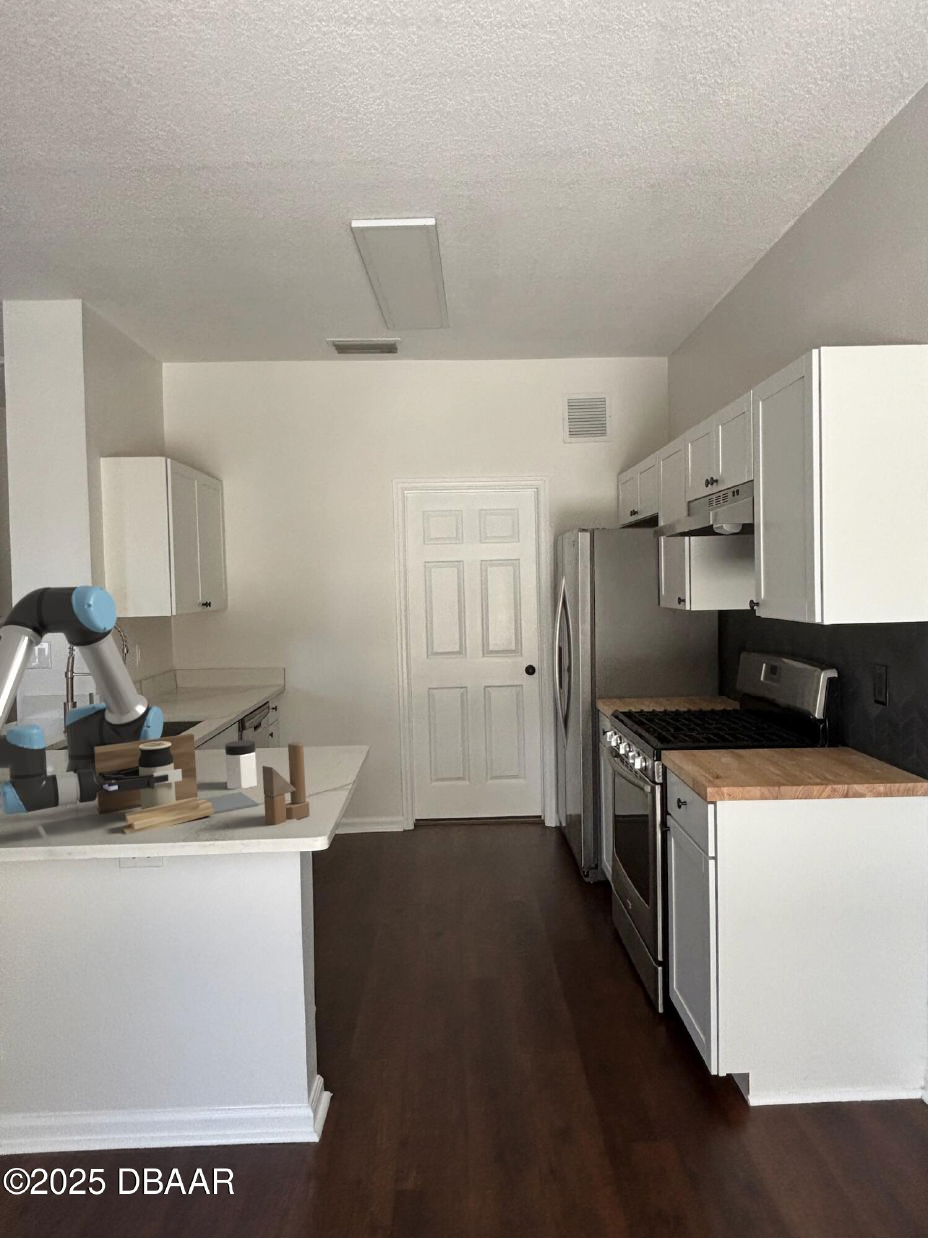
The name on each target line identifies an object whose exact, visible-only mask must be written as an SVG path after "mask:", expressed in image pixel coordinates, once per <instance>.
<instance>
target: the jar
mask: <svg viewBox="0 0 928 1238" xmlns="http://www.w3.org/2000/svg"><path fill="white" fill-rule="evenodd" d="M224 750H225V768H226V785H227V789H229V790H238V789H244V788H245V789H250V787H251V788H254V787H257V786H258V785H257V784H258V774H257V754H256V751H257V748H256V741H254V740H250V739H249V740H246V739H245V740H244V739H243V740H234V741H229V742H227V743H225V744H224Z"/></svg>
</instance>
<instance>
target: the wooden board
mask: <svg viewBox="0 0 928 1238" xmlns="http://www.w3.org/2000/svg"><path fill="white" fill-rule="evenodd" d="M160 741H165V742H170V743H171V745H170V752H171V754H172V755H173V765H174V770H177V769H181V772H182V781H176V782H175V799H176V802H177V801H181V800H186V799H190V798H194V797H195V798H198V784H197V768H196V767H197V766H196V765H197V763H196V748H195V734H194V733H187V734H186V733H185V734H180V735H173V736H172V735H171V736H163V737H160V738H156V739H149V740H142V741H134V742H127V743H120V744H112V745H105V746H98V747H94V752H95V767H96V777H97V776H98V773H100V772H109V771H114V770H119V769H125V768H130V767H135V766H139V762H138V759H139V757H140V755H141V751H140V749H139V746H140V745H142V744H145V743H150V742H160ZM96 799H97V807H96V813H97V812H98V813H99V814H98V815H103V814H110V813H115V812H120V811H121V812H122V811H126V810H133V809H137V808H141V795H140V789H138V790H130V791H123V792H117V793H112V794H108V792H107V793H106V792H105V791H99V792H97V798H96Z"/></svg>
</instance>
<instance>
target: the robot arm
mask: <svg viewBox="0 0 928 1238" xmlns="http://www.w3.org/2000/svg"><path fill="white" fill-rule="evenodd" d="M116 610H117V606H116V603H115V600H114V599H113V597H112V595H111V593H110V592H109V591H107V590H106V589H105V588H103V587H101V586H96V585H87V584H85V585H79V586H60V587H59V586H57V587H56V586H54V587H52V586H51V587H50V586H49V587H48V586H47V587H46V586H45V587H40V588H36V589H34V590H32V591H30V592H28V593H27V594H25V595H24V596H23V597H22V598H20V599H19V600H18V601H17V603H15V604H14V606H12V608H11V609H10V611H8V614H7V615H6V617H4V620H3V621H2V624H1V627H0V636H1V638H0V769H8V772H9V779H7V781H3V782H1V784H0V802H1V809H2V812H3V813H4V814H6V815H15V814H22V813H24V814H27V813H31V812H36V811H42V810H48V809H53V808H58V807H62V808H63V809H66V808H67V806H70V805H76V804H77V803H78V802H79V803H80V804H83V803H89V802H94V801H96V800H97V799H98V798H97V792H99V791H105V792H106V793H107V792H108V794H112V793H117V792H123V791H130V790H138V789H146V788H151V789H154V788H155V786H154V785H158V784H164V783H170V782H176V781H182V772H181V769H177V770H171V771H165V772H158V773H153V775H143V776H139V766H135V767H130V768H125V769H119V770H114V771H109V772H100V773H98V776H97V777H96V767H95V752H94V747H98V746H105V745H112V744H120V743H127V742H134V741H142V740H149V739H156V738H162V737H161V736H162V733H163V729H164V728H163V727H164V715H163V711H162V709H161V708H160V707H158V706H156V705H153V706H150V704H149V702H148V700H147V698H146V697H145V696H143V695H141V694H138V691H137V690H136V687H135V685H134V683H133V681H132V678H131V676H130V674H129V672H128V670H127V667H126V665H125V663H124V660H123V658H122V656H121V653H120V652H119V649H118V647H117V644H116V643H115V641H114V638H113V635H112V633H113V631H114V627H115V625H116V622H117V616H118V613H117V612H116ZM48 634H63V635H64V637H65V638H66V641H67V643H68V644H69V645H70V646H72V647H75V648H78V651H79V654H80V655H81V657H82V659H83V661H84V663H85V665H86V667H87V670H88V671H89V674H90V675H91V678H92V679H93V682H94V684H95V685H96V687H97V688H96V689H97V690H98V692H99V693H100V694H99V695H100V696H101V698H102V700H103V702H97V703H91V704H86V705H82V706H78V707H74V708H71V709H69V710H68V711H67V712H66V714H65V728H66V729H65V730H66V743H67V755H68V757H67V758H68V761H67V767H66V769H65V772H60V773H53V774H49V775H48V772H47V771H48V769H47V768H48V767H47V766H48V765H47V752H46V746H47V742H46V739H45V732H44V728H43V727H42V725H39V724H22V725H15V726H12V727H9V728H8V729H7V730H6V731H7V732H6V734H2V733H3V731H4V727H5V725H6V722H7V720H8V717H9V715H10V712H11V709H12V706H13V704H14V702H15V698H16V696H17V693H18V691H19V688H20V685H21V683H22V680H23V678H24V675H25V672H26V670H27V667H28V665H29V662H30V659H31V657H32V655H33V653H34V649H35V648H36V647H38V646H40V645H41V643H42V641H43V638H44V637H45V635H48ZM147 780H148V783H147Z"/></svg>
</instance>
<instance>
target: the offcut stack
mask: <svg viewBox="0 0 928 1238" xmlns="http://www.w3.org/2000/svg"><path fill="white" fill-rule="evenodd" d="M198 800H199V799H197V797H194V798H189V799H184V800H178V801H176V802H173V803H168V804H164V805H160V806H155V807H151V808H147V809H143V810H141V809H139V810H135V811H131V812H126V813H124V817H125V818H124V819H125V821H126V822H127V824H125V825H121V830H122V831H123V832H124V834H125V835H128V834H130V835H131V834H135V833H140V832H144V831H149V830H155V829H159V828H160V829H161V828H164V827H169V826H173V825H178V824H181V823H185V822H186V823H187V822H188V821H189V822H190V821H193V820H197V819H201V818H204V817H208V816H212V814H213V815H215V814H214V811H213V808H212V803H210V802H208V801H207V800H201V801H198Z"/></svg>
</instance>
